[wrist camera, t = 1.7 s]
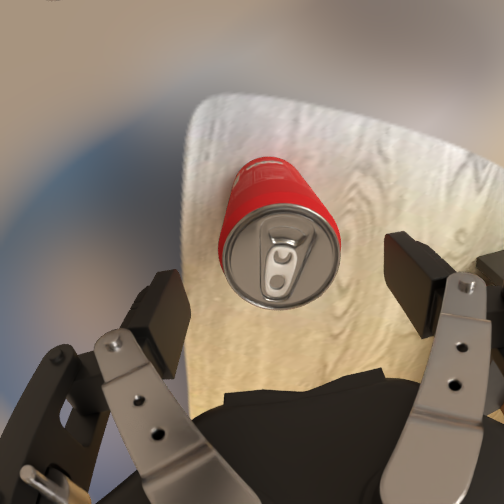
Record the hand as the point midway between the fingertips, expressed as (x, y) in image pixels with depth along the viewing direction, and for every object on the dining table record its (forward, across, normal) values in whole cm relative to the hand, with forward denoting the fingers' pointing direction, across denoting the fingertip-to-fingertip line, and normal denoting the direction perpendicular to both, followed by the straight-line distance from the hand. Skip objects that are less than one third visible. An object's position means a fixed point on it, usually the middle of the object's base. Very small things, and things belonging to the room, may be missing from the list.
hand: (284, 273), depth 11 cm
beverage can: (+13, 0, 0) cm, 13 cm away
